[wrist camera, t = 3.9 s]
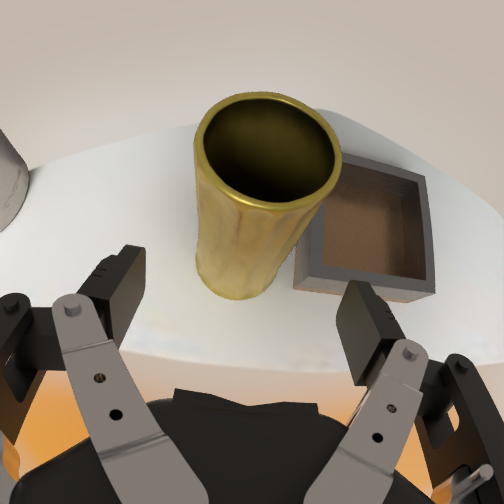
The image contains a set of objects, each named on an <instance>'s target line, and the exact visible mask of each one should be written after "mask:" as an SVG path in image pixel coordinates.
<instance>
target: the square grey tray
mask: <svg viewBox="0 0 504 504" xmlns="http://www.w3.org/2000/svg"><path fill="white" fill-rule="evenodd" d="M341 153H342V152H341ZM350 280H358V281H365V282H369V283H370V284H371V286H372V288H373V290H374V292H375V293H376V295H379V296H380V297H381V298H382V299H383V300H385V301H394V302H403V303H409V302H412V301H415V300H418V299H421V298H424V297H427V296H430V295H433V294H435V267H434V251H433V238H432V227H431V218H430V210H429V202H428V194H427V188H426V181H425V176H423V175H420V174H417V173H413V172H410V171H407V170H404V169H401V168H397V167H394V166H390V165H387V164H383V163H380V162H376V161H373V160H369V159H365V158H362V157H358V156H354V155H350V154H346V153H342V166H341V172H340V175H339V178H338V181H337V183H336V185H335V187H334V189H333V190H332V191H331V193H330V194H329V195H328V197H327V198H326V200H325V201H324V202H323V204H322V205H321V207H320V208H319V209H318V211H317V212H316V214H315V215H314V216H313V218H312V219H311V221H310V222H309V224H308V226H307V227H306V229H305V230H304V232H303V233H302V235H301V236H300V238H299V239H298V241H297V248H296V261H295V273H294V284H293V289H296V290H304V291H311V292H319V293H327V294H335V295H344V293H345V290H346V287H347V285H348V283H349V281H350Z"/></svg>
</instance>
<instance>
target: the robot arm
mask: <svg viewBox="0 0 504 504" xmlns="http://www.w3.org/2000/svg"><path fill="white" fill-rule="evenodd" d="M28 182H29V171H28V168H27V165H26V163H25V162H24V160H23V159H22V157H21V156H20V155H19V154H18V152H17V151H16V150H15V148H14V147H13V146H12V144H11V143H10V142H9V140H8V139H7V137H6V136H5V135H4V133H3V132H2V131H1V129H0V232H1V231H2V230H3V229H4V228H5V227H6V226H7V225H8V224H9V223H10V222H11V221H12V219H13V218H14V217H15V216H16V214H17V212H18V211H19V209H20V207H21V205H22V203H23V201H24V199H25V195H26V192H27V189H28ZM145 275H146V251H145V248H144V247H139V246H133V245H125V246H124V247H123V249H122V250H121V251H120V253H119V254H118V255H117V256H116V255H110V256H108V257H107V258H105V259H103V260H101V262H100V263H99V264H98V265H97V267H96V269H94V271H93V272H92V273H91V275H90V276H89V277H88V278H87V280H86V281H85V282H84V283H83V285H82V286H81V287H80V289H79V290H78V291H77V293H76V294H68V295H64V296H62V297H60V298H58V299H57V300H56V301H55V302H54V303H53V306H52V307H31V303H30V300H29V298H28V297H27V296H26V295H24V294H21V293H10V294H7V295H4V296H3V297H1V298H0V504H504V422H503V420H502V418H501V416H500V414H499V412H498V410H497V408H496V406H495V404H494V402H493V400H492V398H491V396H490V394H489V392H488V390H487V388H486V386H485V384H484V382H483V380H482V379H481V377H480V375H479V373H478V371H477V369H476V368H475V366H474V364H473V363H472V362H471V361H470V360H469V359H468V358H466V357H465V356H463V355H460V354H450V355H449V356H448V357H447V359H446V360H445V362H444V363H441V362H438V361H434V360H430V359H429V358H428V354H427V352H426V350H425V349H424V348H423V347H422V346H421V345H419V344H418V343H416V342H414V341H412V340H408V339H406V337H405V335H404V333H403V332H402V330H401V328H400V326H399V324H398V322H397V320H395V317H394V315H393V313H391V312H392V311H391V310H390V308H389V306H388V304H387V303H386V302H385V301H384V300H383V299H382V298H381V297H380V296H379V295H376V293H375V292H374V290H373V288H372V286H371V284H370V283H369V282H365V281H358V280H350V281H349V283H348V285H347V287H346V290H345V293H344V295H343V298H342V301H341V303H340V306H339V308H338V311H337V315H336V326H337V329H338V333H339V336H340V339H341V342H342V345H343V348H344V352H345V355H346V358H347V361H348V365H349V368H350V371H351V375H352V378H353V381H354V385H355V386H367V391H366V393H365V394H364V396H363V397H362V399H361V401H360V403H359V404H358V406H357V407H356V409H355V411H354V412H353V414H352V416H351V417H350V419H349V420H348V422H347V424H346V425H343V424H342V423H340V422H339V421H337V420H335V419H333V418H330V417H328V416H325V415H322V414H319V412H318V406H317V403H297V402H279V403H271V404H263V405H256V406H246V405H242V404H239V403H236V402H233V401H230V400H227V399H224V398H221V397H218V396H215V395H212V394H207V393H200V392H194V391H188V390H182V389H176V388H175V391H174V396H173V398H167V399H159V400H155V401H150V402H148V403H145V401H144V399H143V398H142V396H141V394H140V392H139V390H138V388H137V387H136V385H135V383H134V381H133V379H132V377H131V375H130V373H129V371H128V369H127V367H126V365H125V363H124V361H123V360H122V357H121V355H120V353H119V351H118V350H119V347H120V345H121V343H122V341H123V339H124V336H125V334H126V332H127V330H128V328H129V325H130V323H131V321H132V319H133V317H134V315H135V313H136V310H137V308H138V306H139V304H140V302H141V300H142V298H143V295H144V291H145ZM10 356H11V357H10ZM9 357H10V358H9ZM8 359H9V360H8ZM7 361H8V362H7ZM6 362H7V363H6ZM5 364H6V365H5ZM47 370H56V371H67V374H68V377H69V380H70V383H71V386H72V389H73V392H74V395H75V398H76V401H77V404H78V407H79V410H80V412H81V415H82V418H83V420H84V423H85V425H86V428H87V430H88V433H89V435H90V436H89V437H88V438H86V439H85V440H83V441H82V442H80V443H78V444H76V445H75V446H73V447H71V448H69V449H68V450H66V451H64V452H63V453H61V454H59V455H58V456H56V457H54V458H53V459H51V460H49V461H47V462H45V463H44V464H42V465H40V466H38V467H36V468H35V469H33V470H31V471H29V472H28V473H26V474H25V475H24V476H22V477H21V478H19V466H20V458H19V454H18V452H17V450H16V449H15V447H14V445H15V442H16V439H17V437H18V434H19V432H20V429H21V427H22V424H23V422H24V420H25V417H26V415H27V413H28V410H29V408H30V406H31V403H32V401H33V399H34V397H35V395H36V392H37V390H38V388H39V386H40V384H41V382H42V380H43V377H44V375H45V373H46V371H47ZM453 405H454V406H455V409H456V411H457V414H458V416H459V426H458V428H457V430H456V431H454V429H453V426H452V423H451V421H450V418H449V416H448V413H447V412H448V411H449V410H450V408H451V407H452V406H453ZM413 423H415V426H416V430H417V433H418V436H419V440H420V443H421V446H422V450H423V453H424V457H425V461H426V464H427V468H428V472H429V476H430V480H431V483H432V488H433V492H432V495H431V499H430V498H429V497H428V496H426V495H425V494H424V493H423V492H422V491H420V490H419V489H418V488H417V487H416V486H414V485H413V484H412V483H411V482H410V481H408V480H407V479H406V478H405V477H404V476H402V475H401V474H400V473H399V472H398V471H396V470H395V467H396V465H397V462H398V460H399V458H400V456H401V453H402V451H403V448H404V445H405V443H406V441H407V438H408V436H409V433H410V431H411V428H412V425H413Z"/></svg>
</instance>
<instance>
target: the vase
mask: <svg viewBox="0 0 504 504" xmlns="http://www.w3.org/2000/svg"><path fill="white" fill-rule="evenodd" d="M193 147H194V162H195V175H196V196H197V209H198V219H199V233H198V243H197V251H196V267H197V271H198V274H199V276H200V278H201V280H202V281H203V283H204V284H205V285H206V286H207V287H208V288H209V289H210V290H211V291H212V292H214V293H215V294H217V295H219V296H221V297H224V298H227V299H231V300H245V299H249V298H253V297H255V296H257V295H259V294H261V293H262V292H263V291H265V290H266V289H267V288H268V287H269V286H270V284H271V283H272V281H273V280H274V278H275V276H276V274H277V271H278V269H279V267H280V266H281V264H282V263H283V261H284V260H285V259H286V257H287V256H288V254H289V253H290V251H291V250H292V248H293V247H294V245H295V244H296V242H297V241H298V239H299V238H300V236H301V235H302V233H303V232H304V230H305V229H306V227H307V226H308V224H309V222H310V221H311V219H312V218H313V216H314V215H315V214H316V212H317V211H318V209H319V208H320V207H321V205H322V204H323V202H324V201H325V200H326V198H327V197H328V195H329V194H330V193H331V191H332V190H333V189H334V187H335V185H336V183H337V181H338V178H339V175H340V172H341V166H342V153H341V149H340V145H339V142H338V139H337V137H336V134H335V133H334V131H333V129H332V128H331V126H330V125H329V124H328V123H327V121H326V120H325V119H324V118H323V117H322V116H321V115H319V114H318V113H317V112H316V111H314V110H313V109H311V108H310V107H308V106H306V105H305V104H303V103H301V102H300V101H298V100H296V99H293V98H291V97H288V96H285V95H282V94H279V93H273V92H248V93H241V94H236V95H233V96H230V97H228V98H225V99H223V100H222V101H220V102H218V103H217V104H215V105H214V106H213V107H212V108H211V109H210V110H209V111H208V112H207V113H206V114H205V116H204V118H203V119H202V121H201V123H200V125H199V127H198V129H197V131H196V134H195V138H194V143H193Z"/></svg>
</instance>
